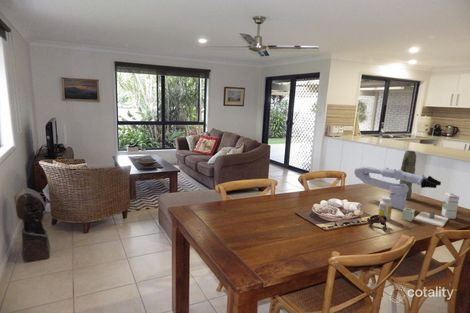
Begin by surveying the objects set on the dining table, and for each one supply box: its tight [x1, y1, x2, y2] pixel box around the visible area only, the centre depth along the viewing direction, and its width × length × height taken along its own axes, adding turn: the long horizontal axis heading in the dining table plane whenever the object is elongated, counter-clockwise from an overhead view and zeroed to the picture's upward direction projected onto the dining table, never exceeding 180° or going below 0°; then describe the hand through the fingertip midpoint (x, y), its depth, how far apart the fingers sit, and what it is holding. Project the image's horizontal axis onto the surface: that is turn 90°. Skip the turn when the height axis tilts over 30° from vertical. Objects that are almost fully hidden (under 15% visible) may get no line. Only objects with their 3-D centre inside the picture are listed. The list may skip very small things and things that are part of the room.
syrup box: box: [440, 192, 460, 220], centre depth 176 cm, size 6×6×14 cm
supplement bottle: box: [377, 196, 393, 221], centre depth 170 cm, size 7×7×13 cm
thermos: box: [398, 150, 417, 201], centre depth 208 cm, size 9×12×35 cm
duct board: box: [414, 211, 449, 228], centre depth 171 cm, size 14×16×4 cm
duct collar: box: [401, 207, 416, 222], centre depth 171 cm, size 5×5×6 cm
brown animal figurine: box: [366, 214, 388, 232], centre depth 158 cm, size 12×10×8 cm
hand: (438, 185), depth 172 cm, fingers open, 7 cm apart
